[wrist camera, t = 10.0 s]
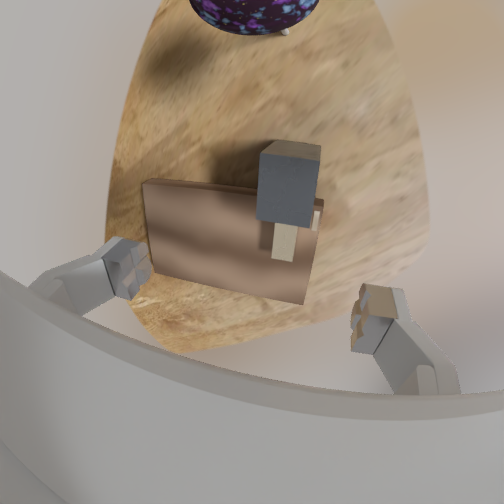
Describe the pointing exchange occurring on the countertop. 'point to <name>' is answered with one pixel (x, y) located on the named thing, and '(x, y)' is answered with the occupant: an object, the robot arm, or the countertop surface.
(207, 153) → the countertop surface
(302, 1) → the lollipop
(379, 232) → the countertop surface
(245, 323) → the countertop surface
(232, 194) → the board
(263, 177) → the upright grey metal block
